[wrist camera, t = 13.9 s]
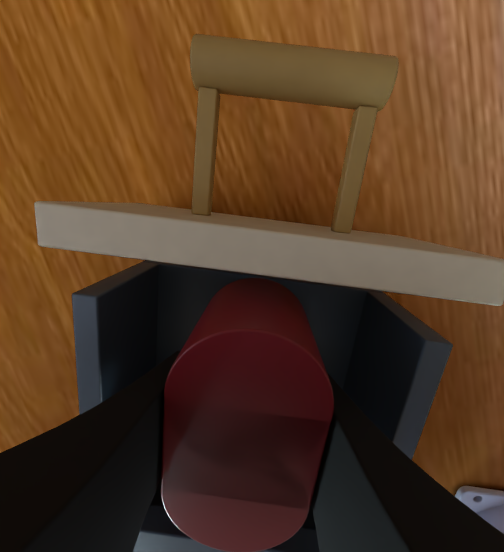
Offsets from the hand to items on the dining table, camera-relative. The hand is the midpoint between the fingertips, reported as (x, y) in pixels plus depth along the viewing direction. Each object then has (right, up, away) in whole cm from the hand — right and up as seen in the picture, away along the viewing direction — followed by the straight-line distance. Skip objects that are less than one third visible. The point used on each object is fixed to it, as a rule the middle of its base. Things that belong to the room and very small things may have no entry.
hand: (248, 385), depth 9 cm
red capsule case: (0, 0, +1) cm, 1 cm away
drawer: (0, +2, +4) cm, 5 cm away
